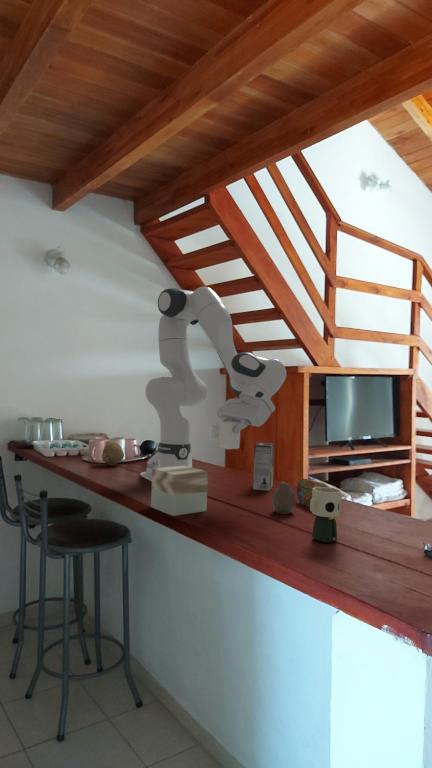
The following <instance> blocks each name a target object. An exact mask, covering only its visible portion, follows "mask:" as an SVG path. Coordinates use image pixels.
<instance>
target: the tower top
mask: <svg viewBox="0 0 432 768" xmlns="http://www.w3.org/2000/svg"><path fill="white" fill-rule="evenodd" d="M208 478H209V471H206V470H203V469H200V468H196V467H193V466H192V467H189V466H185V465H183V466H172V467H160V468H152V482H151V489H152V488H153V489H156V490H159V491H161V492H164V493H167V494H170V495H173V496H177V495H185V494H193V493H201V492H207V493H208V481H209V479H208Z"/></svg>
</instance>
